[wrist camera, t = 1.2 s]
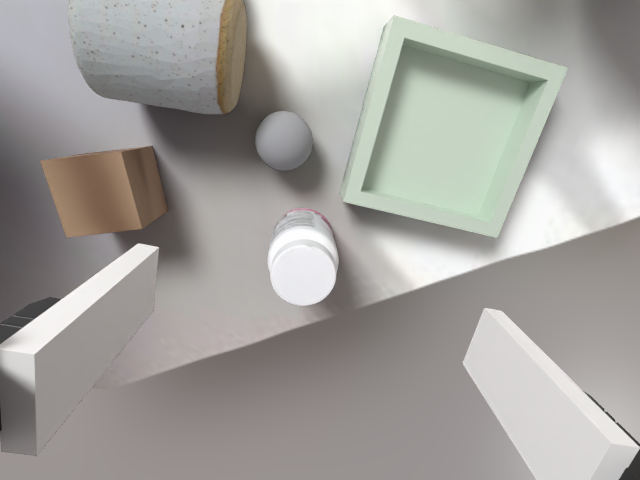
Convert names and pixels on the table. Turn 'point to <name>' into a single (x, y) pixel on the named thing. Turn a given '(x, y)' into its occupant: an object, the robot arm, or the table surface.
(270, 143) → the rubber ball
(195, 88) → the ceramic mug
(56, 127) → the table surface
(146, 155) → the walnut block
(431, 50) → the tray
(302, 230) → the pill bottle
